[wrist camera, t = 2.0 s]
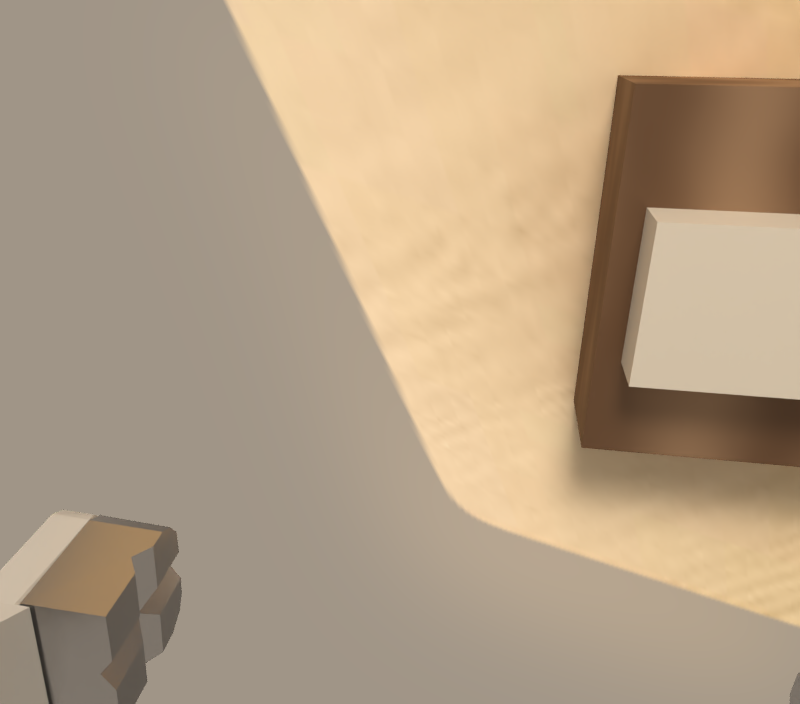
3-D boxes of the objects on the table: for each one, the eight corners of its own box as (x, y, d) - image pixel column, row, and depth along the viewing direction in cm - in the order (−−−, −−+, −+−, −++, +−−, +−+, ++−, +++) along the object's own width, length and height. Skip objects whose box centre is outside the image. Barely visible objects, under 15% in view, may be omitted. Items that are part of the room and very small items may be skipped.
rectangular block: (928, 219, 23) (963, 236, 21) (872, 380, 25) (900, 407, 24) (646, 207, 24) (657, 222, 22) (621, 362, 27) (628, 386, 25)
